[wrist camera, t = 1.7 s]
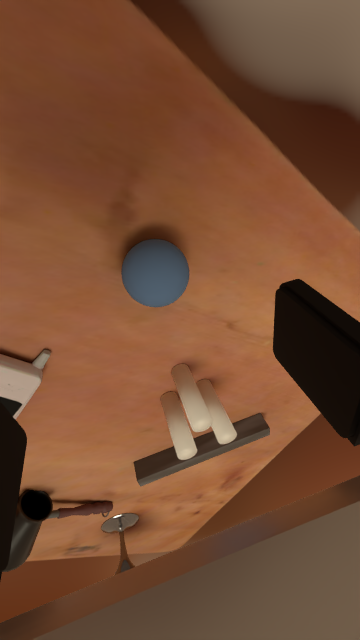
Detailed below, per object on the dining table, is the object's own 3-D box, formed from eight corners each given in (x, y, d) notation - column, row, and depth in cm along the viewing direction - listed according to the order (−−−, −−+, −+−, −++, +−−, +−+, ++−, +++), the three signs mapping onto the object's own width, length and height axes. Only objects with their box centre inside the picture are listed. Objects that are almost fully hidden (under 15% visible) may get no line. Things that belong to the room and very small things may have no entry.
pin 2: (193, 382, 41) (216, 435, 34) (209, 376, 41) (236, 428, 34) (196, 393, 42) (219, 446, 35) (211, 387, 42) (237, 439, 36)
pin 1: (158, 395, 40) (175, 452, 33) (175, 389, 40) (195, 444, 34) (162, 406, 42) (179, 462, 35) (178, 400, 42) (198, 454, 35)
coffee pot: (-23, 521, 44) (8, 480, 43) (82, 515, 55) (108, 482, 54) (-24, 578, 38) (10, 533, 37) (92, 558, 50) (121, 523, 49)
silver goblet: (148, 512, 58) (168, 615, 46) (126, 534, 60) (139, 636, 48) (113, 511, 54) (124, 623, 42) (90, 534, 56) (95, 646, 44)
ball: (109, 240, 27) (116, 267, 22) (171, 222, 28) (192, 244, 23) (128, 295, 30) (138, 328, 26) (183, 277, 31) (203, 307, 26)
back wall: (133, 462, 47) (136, 480, 45) (260, 412, 50) (269, 427, 47) (137, 468, 48) (140, 486, 46) (260, 419, 51) (269, 434, 48)
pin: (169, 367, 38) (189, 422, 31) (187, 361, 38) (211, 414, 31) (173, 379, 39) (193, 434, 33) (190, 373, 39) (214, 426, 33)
